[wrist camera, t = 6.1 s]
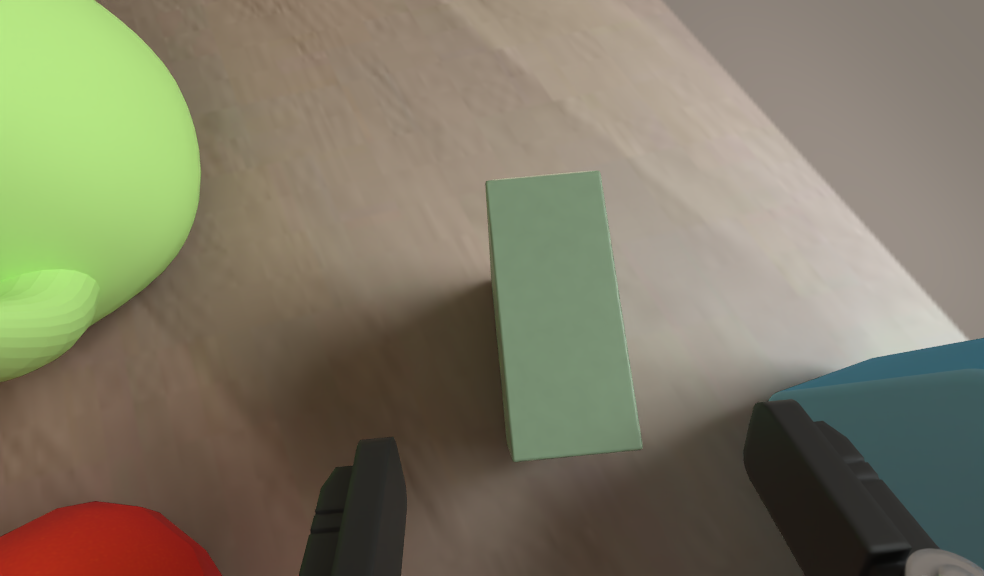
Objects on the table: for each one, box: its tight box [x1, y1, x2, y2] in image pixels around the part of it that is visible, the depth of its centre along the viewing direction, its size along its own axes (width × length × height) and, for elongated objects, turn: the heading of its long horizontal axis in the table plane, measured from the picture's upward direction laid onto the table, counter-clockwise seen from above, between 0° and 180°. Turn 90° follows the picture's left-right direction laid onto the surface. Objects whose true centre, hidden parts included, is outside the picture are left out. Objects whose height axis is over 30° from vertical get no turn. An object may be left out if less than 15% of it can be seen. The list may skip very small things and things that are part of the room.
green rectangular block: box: [485, 171, 643, 462], centre depth 18 cm, size 3×7×10 cm, turn 5°
